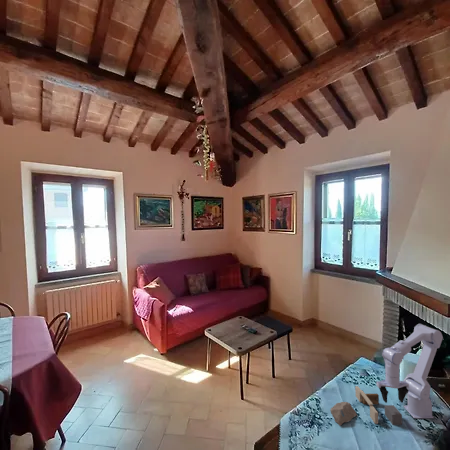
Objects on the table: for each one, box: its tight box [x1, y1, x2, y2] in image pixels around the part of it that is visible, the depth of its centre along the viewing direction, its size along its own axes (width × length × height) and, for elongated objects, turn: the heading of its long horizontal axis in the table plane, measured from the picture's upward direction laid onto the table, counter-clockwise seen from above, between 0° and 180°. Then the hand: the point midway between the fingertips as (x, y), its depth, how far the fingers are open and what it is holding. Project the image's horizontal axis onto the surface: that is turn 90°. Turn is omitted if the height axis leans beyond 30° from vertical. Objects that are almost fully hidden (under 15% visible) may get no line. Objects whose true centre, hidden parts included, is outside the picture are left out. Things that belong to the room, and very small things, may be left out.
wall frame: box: [354, 385, 379, 425], centre depth 128 cm, size 2×19×6 cm, turn 178°
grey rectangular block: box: [384, 404, 403, 426], centre depth 121 cm, size 4×6×5 cm
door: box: [361, 393, 380, 405], centre depth 131 cm, size 2×8×5 cm, turn 88°
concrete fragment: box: [330, 401, 358, 427], centre depth 123 cm, size 7×14×6 cm, turn 115°
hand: (392, 401), depth 121 cm, fingers open, 7 cm apart
